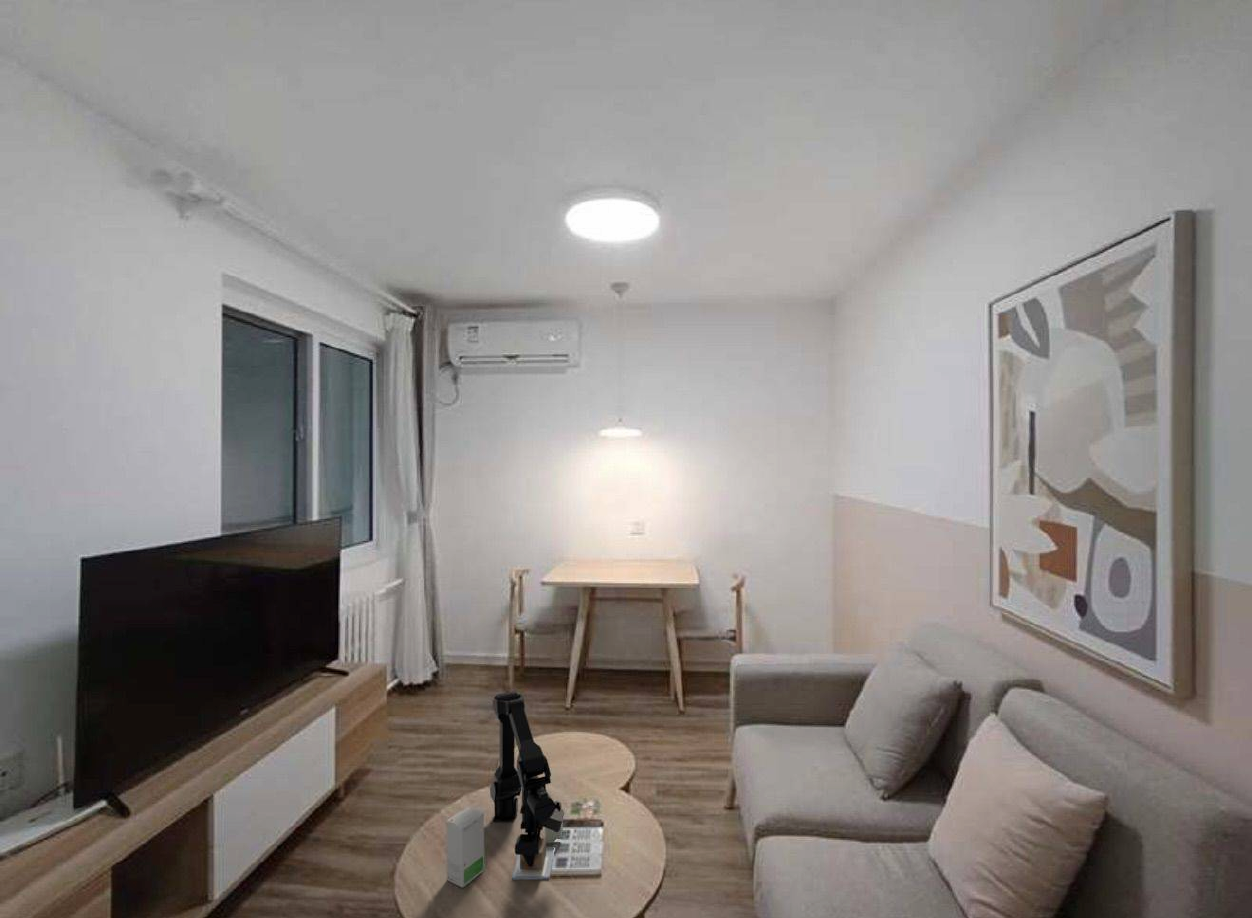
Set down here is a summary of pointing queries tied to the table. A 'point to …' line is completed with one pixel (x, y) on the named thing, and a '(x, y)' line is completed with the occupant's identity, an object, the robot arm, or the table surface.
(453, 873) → the skincare box
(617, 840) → the table surface
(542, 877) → the board
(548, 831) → the sage block
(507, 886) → the table surface
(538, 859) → the walnut block
